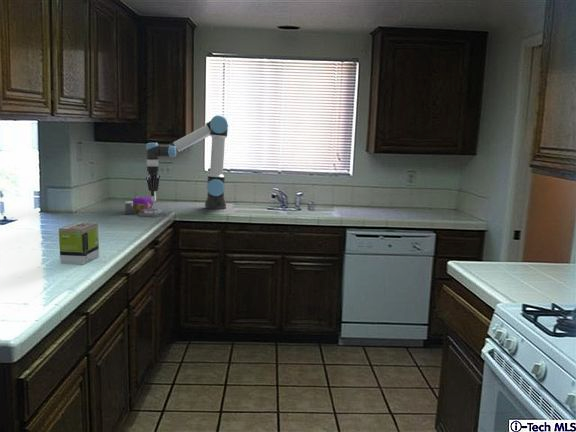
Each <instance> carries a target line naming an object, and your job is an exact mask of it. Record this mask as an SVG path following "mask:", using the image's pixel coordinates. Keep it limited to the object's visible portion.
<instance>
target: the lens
mask: <svg viewBox="0 0 576 432" xmlns="http://www.w3.org/2000/svg"><path fill="white" fill-rule="evenodd" d="M125 214H126V215H127V216H131V215H134V213H133V200H132V201H127V200H125V202H124V215H125Z"/></svg>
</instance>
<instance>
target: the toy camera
mask: <svg viewBox="0 0 576 432" xmlns="http://www.w3.org/2000/svg"><path fill="white" fill-rule="evenodd" d="M132 202H133V203H137V204H145V209H149V208H152V207H153V205H154V201H152V199H151V197H147V196H135V197H134V198H132Z"/></svg>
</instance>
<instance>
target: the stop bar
mask: <svg viewBox="0 0 576 432" xmlns="http://www.w3.org/2000/svg"><path fill="white" fill-rule="evenodd" d="M143 209H145V204H137V203H133V214H138V212H142V210H143Z"/></svg>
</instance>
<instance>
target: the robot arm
mask: <svg viewBox="0 0 576 432" xmlns="http://www.w3.org/2000/svg"><path fill="white" fill-rule="evenodd" d="M228 127H229V121H228V119H227V117H225V116H224V115H221V114H220V115H219V114H218V115H215V116H213V117H212V118H211V120H209V121H208V122H206V123H205V125H203V126H202V127H200V128H198V129H196V130H194V131H192V132H191V133H188V134H186V135H184V136H183V137H181V138H179V139H177V140H175V141H173V142H171V143H170V144H167V145H159V143H158V142H148V143H146V149H145V150H146V151H145V152H146V171H147V173H148V174H147V176H145V179H146V182H147V187H148V191H149V192H150V196H151V197H150V198H151V200H152V202H156V201H157V192H158V190H159V185H160V179H161V175H159V174H158V172H159V170H160V169H159V158H175V157H176V156H177V153H180V152H182V151H183V150H185V149H186V148H189V147H191V146H192V145H193V146H194V144H196V143H198V142H200V141H202V140H204V139H206V138H208V137H211V149H210V150H211V152H210V153H211V154H210V167H209V168H210V169H209V171H210V172H209V174H208V175H207V180H206V181H207V183H206V190H207V194H206V195H207V196H206V199H205V200H206V201H205V203H204V209H207V210H223V209H224V210H225V209H227V204H226V203H227V202H226V200H225V179H226V177H225V175H224V160H225V158H224V157H225V145H226V144H225V141H226V138H227V137H228V132H229V129H228Z"/></svg>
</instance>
